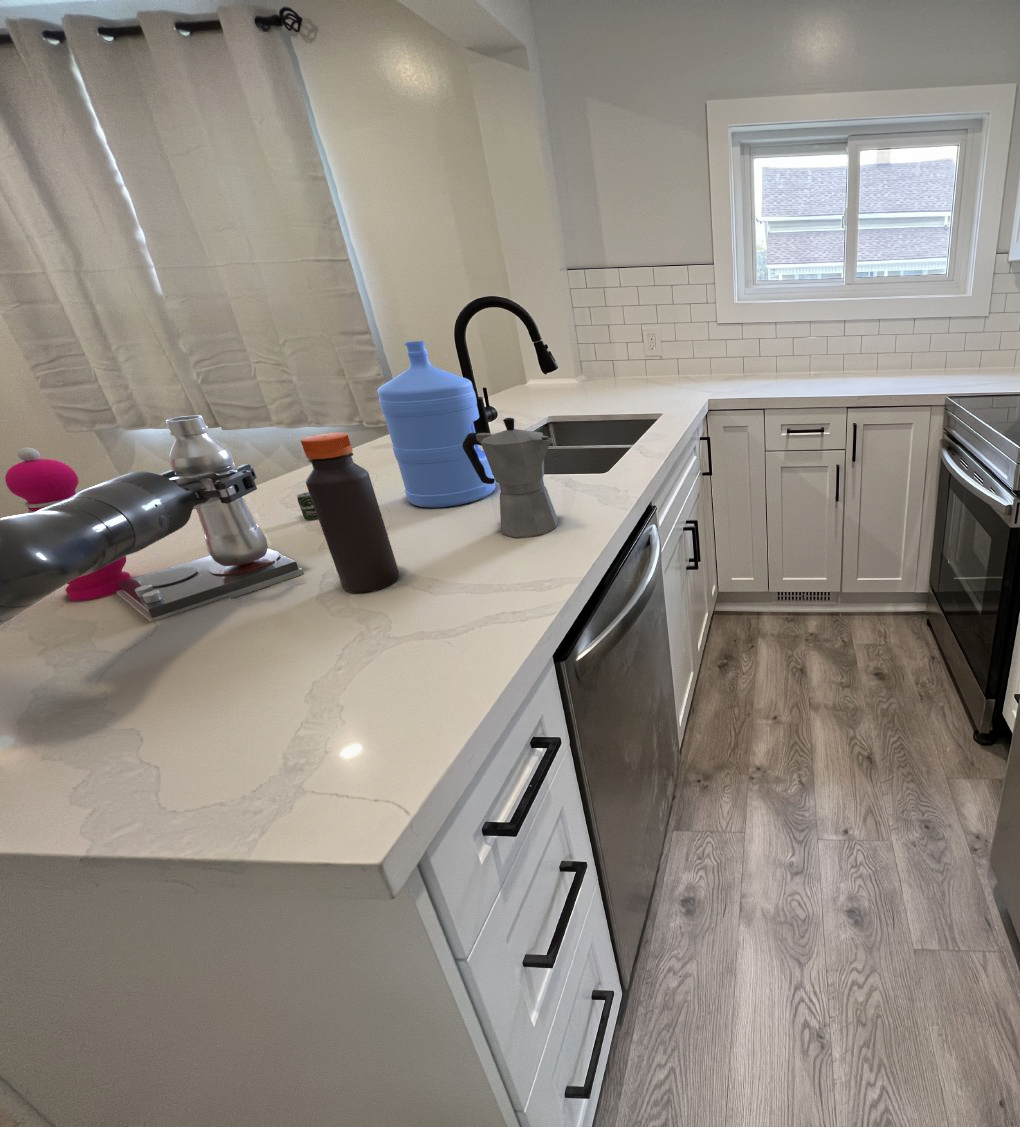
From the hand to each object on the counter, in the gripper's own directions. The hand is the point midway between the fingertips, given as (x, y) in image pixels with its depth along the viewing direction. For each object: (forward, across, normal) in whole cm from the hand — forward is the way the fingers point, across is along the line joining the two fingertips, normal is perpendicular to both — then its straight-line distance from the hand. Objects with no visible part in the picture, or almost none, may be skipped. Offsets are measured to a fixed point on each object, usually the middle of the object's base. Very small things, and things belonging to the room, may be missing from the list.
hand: (214, 474), depth 81 cm
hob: (-3, +4, +14) cm, 15 cm away
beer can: (+24, +2, +15) cm, 28 cm away
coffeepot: (+8, -36, +15) cm, 40 cm away
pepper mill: (-2, +18, +15) cm, 23 cm away
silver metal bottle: (-1, 0, +12) cm, 13 cm away
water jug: (+30, -20, +15) cm, 39 cm away
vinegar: (-8, -18, +15) cm, 25 cm away
